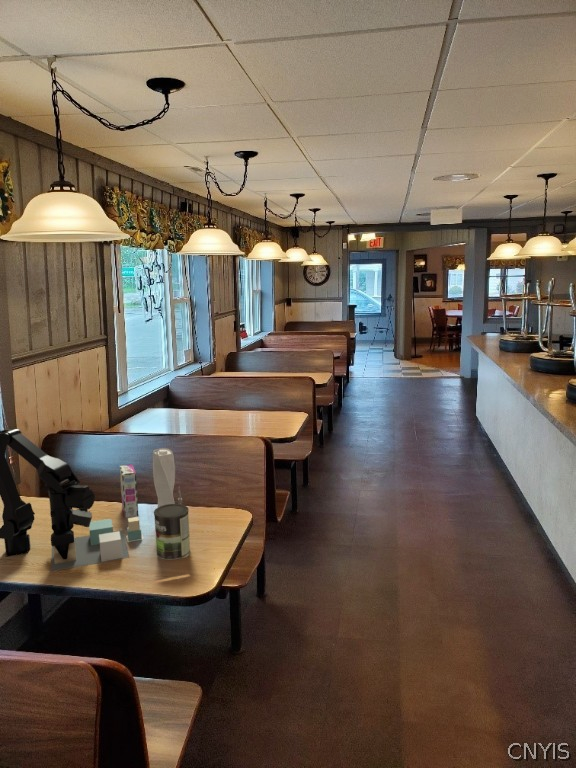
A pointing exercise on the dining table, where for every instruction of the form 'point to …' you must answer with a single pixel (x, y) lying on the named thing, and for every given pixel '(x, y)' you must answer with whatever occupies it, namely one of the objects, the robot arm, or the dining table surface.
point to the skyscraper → (164, 476)
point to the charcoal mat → (87, 553)
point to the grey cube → (110, 546)
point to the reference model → (134, 530)
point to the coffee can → (172, 531)
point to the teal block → (99, 529)
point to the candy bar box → (129, 491)
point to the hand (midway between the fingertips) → (65, 554)
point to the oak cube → (70, 556)
